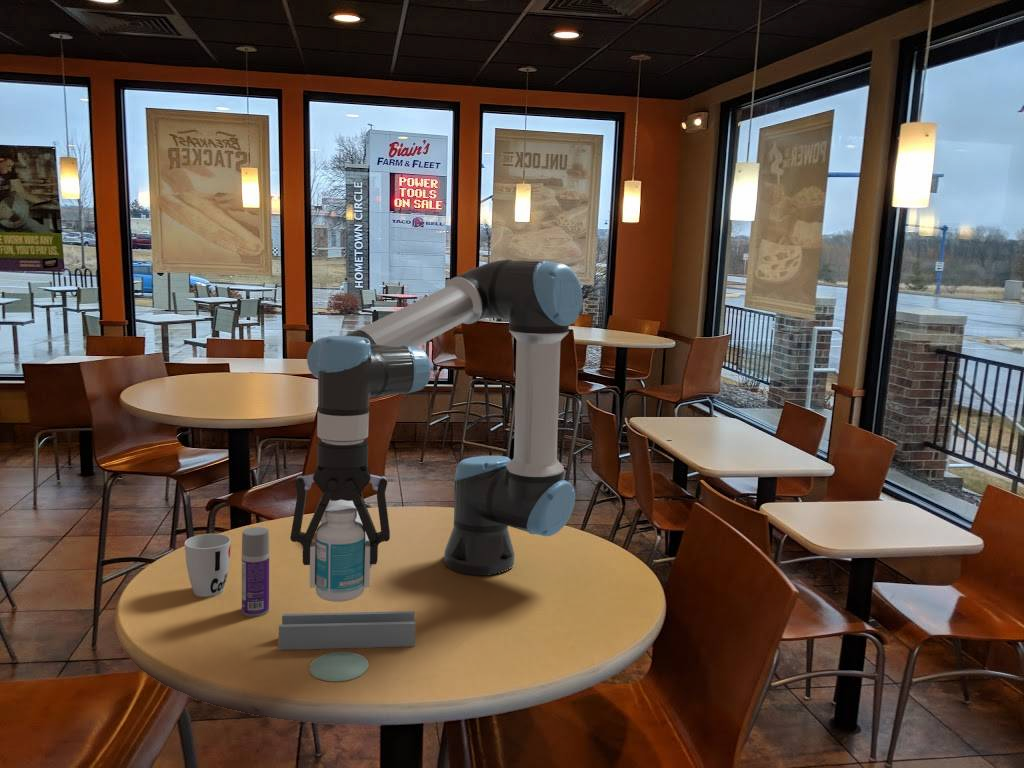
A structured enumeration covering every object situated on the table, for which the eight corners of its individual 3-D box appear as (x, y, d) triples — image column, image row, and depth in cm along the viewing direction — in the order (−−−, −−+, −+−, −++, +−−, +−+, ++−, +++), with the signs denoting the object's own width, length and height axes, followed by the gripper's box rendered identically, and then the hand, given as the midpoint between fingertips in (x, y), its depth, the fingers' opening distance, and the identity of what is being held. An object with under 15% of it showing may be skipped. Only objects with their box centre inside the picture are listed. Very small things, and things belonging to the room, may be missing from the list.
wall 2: (413, 632, 137) (414, 611, 136) (413, 635, 136) (414, 613, 135) (282, 636, 133) (282, 613, 133) (281, 638, 133) (282, 615, 132)
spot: (368, 652, 129) (368, 651, 129) (367, 680, 121) (367, 679, 121) (312, 653, 128) (312, 652, 128) (306, 682, 119) (306, 681, 119)
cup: (215, 602, 145) (215, 550, 143) (176, 597, 146) (175, 545, 145) (239, 585, 153) (239, 536, 151) (201, 580, 154) (201, 531, 153)
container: (274, 608, 144) (274, 529, 141) (258, 618, 139) (258, 537, 137) (252, 603, 145) (252, 525, 143) (236, 613, 141) (235, 533, 139)
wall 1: (414, 643, 133) (415, 621, 132) (414, 646, 132) (415, 623, 132) (279, 647, 129) (279, 624, 129) (278, 650, 129) (278, 626, 128)
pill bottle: (371, 587, 125) (373, 505, 123) (353, 606, 118) (355, 519, 116) (327, 581, 127) (329, 500, 125) (306, 600, 120) (307, 514, 118)
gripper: (410, 435, 124) (405, 573, 127) (276, 432, 121) (275, 575, 124) (411, 446, 117) (406, 592, 120) (269, 443, 114) (268, 594, 117)
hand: (340, 583), depth 122 cm, fingers closed on pill bottle, 7 cm apart
